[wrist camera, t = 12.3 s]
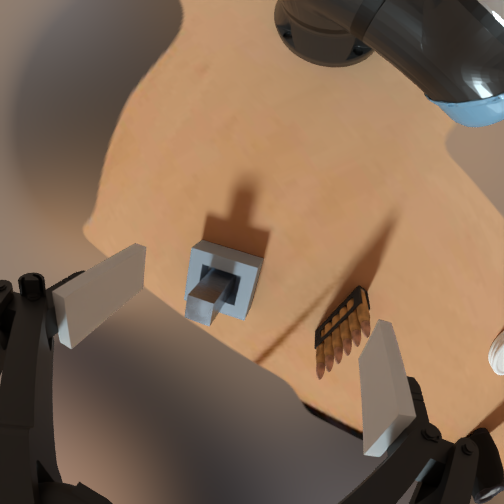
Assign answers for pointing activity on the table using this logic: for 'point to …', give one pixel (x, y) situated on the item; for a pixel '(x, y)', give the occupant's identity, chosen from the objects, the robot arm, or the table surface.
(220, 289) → the steel pin
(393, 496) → the robot arm
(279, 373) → the table surface
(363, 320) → the ammunition clip
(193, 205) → the table surface
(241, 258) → the slot block
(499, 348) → the white ridged disc
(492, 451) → the portable speaker
